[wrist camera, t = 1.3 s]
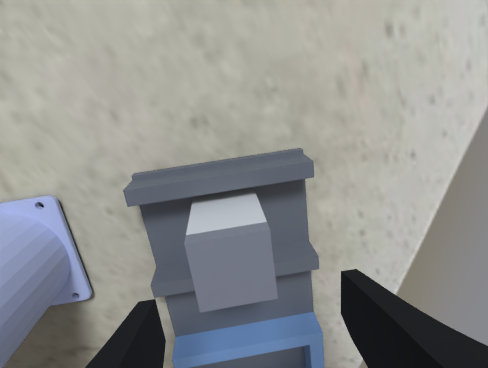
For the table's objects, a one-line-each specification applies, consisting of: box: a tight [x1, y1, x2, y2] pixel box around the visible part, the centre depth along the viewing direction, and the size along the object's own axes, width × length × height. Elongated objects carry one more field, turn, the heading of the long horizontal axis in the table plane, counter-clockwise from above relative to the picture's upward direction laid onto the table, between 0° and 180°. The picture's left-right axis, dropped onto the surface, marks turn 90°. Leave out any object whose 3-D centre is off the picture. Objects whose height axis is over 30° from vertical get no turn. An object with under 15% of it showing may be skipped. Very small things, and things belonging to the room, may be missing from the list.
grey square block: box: [184, 187, 278, 312], centre depth 17 cm, size 4×4×6 cm
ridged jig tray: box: [123, 148, 324, 368], centre depth 21 cm, size 11×21×3 cm, turn 8°
